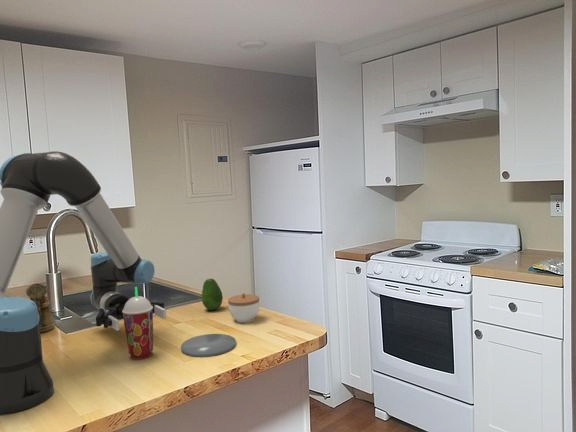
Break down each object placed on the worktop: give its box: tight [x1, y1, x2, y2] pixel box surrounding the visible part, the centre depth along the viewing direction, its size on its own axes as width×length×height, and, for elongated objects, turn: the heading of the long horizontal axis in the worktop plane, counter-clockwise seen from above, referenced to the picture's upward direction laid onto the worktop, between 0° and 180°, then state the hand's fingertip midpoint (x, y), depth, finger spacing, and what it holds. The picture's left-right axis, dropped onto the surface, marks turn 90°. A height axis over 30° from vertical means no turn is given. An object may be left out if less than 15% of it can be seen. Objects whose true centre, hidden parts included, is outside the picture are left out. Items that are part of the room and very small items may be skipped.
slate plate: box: [180, 333, 237, 358], centre depth 138 cm, size 16×16×1 cm
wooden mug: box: [25, 283, 56, 334], centre depth 159 cm, size 9×14×18 cm, turn 28°
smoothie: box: [122, 286, 154, 360], centre depth 133 cm, size 8×8×20 cm
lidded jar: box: [227, 292, 260, 324], centre depth 161 cm, size 11×11×9 cm
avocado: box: [201, 278, 224, 311], centre depth 175 cm, size 8×8×12 cm
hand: (142, 319), depth 131 cm, fingers open, 13 cm apart
